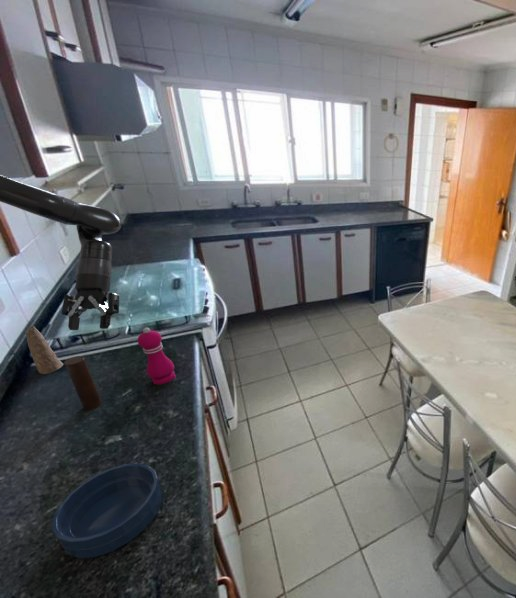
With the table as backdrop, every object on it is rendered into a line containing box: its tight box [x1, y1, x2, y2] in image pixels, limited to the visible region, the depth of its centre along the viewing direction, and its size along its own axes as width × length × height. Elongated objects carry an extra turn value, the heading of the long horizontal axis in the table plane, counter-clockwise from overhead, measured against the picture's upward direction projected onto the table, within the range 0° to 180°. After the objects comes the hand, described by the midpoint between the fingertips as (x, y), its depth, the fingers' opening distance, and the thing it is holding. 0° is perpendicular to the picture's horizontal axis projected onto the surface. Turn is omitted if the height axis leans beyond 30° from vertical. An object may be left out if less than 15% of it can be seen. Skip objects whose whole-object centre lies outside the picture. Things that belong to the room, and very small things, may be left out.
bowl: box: [52, 462, 164, 559], centre depth 68 cm, size 16×16×6 cm
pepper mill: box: [137, 327, 177, 386], centre depth 104 cm, size 7×7×20 cm
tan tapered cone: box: [25, 325, 64, 375], centre depth 104 cm, size 6×18×6 cm
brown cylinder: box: [63, 355, 103, 411], centre depth 93 cm, size 4×4×16 cm
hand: (89, 329), depth 95 cm, fingers open, 8 cm apart
